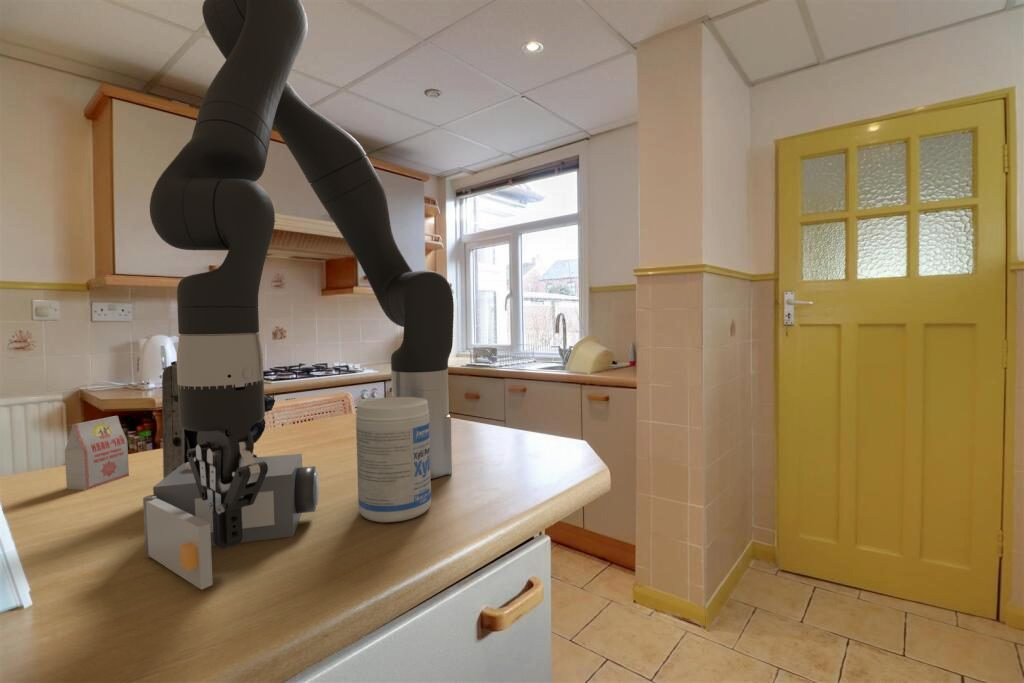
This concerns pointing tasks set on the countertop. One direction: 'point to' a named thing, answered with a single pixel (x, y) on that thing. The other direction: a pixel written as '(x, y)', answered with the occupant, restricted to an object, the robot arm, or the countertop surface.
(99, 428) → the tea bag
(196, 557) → the side door
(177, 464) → the vintage camera
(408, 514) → the supplement tub
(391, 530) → the countertop surface
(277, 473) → the camera housing
